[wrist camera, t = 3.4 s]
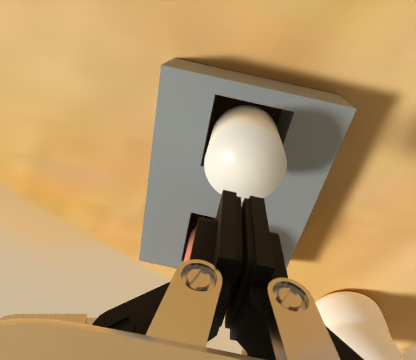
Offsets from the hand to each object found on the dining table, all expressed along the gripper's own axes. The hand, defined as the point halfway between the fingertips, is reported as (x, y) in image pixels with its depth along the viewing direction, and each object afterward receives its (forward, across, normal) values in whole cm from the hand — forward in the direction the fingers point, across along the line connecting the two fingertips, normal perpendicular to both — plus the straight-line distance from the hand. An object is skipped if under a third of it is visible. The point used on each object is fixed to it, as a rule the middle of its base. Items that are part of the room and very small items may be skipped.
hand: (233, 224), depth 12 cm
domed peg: (+9, 0, -1) cm, 9 cm away
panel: (+13, 0, +4) cm, 13 cm away
